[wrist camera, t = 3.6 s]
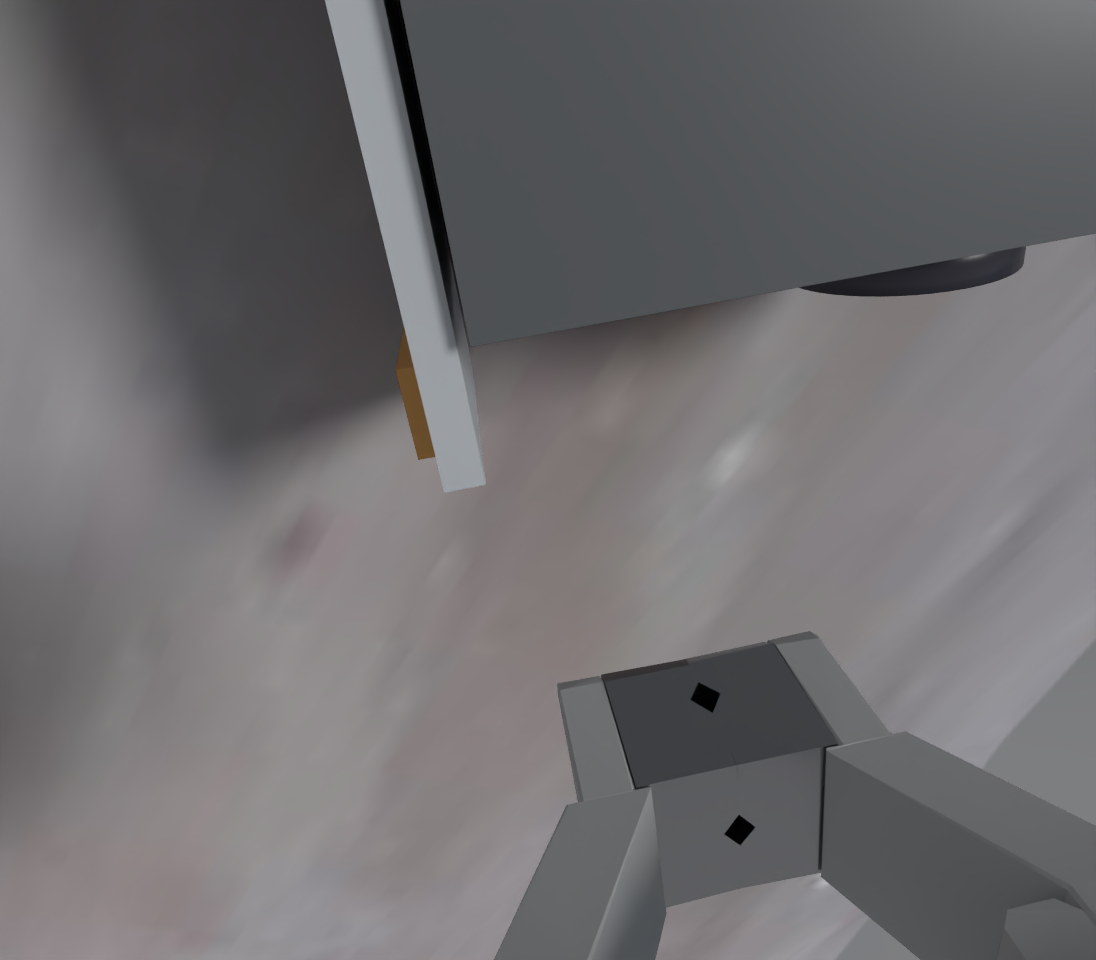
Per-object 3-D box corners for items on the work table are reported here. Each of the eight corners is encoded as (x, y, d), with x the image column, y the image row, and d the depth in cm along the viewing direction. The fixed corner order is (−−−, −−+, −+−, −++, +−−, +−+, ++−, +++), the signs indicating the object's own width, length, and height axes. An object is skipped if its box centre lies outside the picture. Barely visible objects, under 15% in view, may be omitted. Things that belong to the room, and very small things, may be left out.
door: (318, -388, 17) (206, -839, 9) (472, 369, 25) (485, 485, 17) (249, -379, 17) (74, -824, 9) (427, 377, 25) (419, 497, 17)
